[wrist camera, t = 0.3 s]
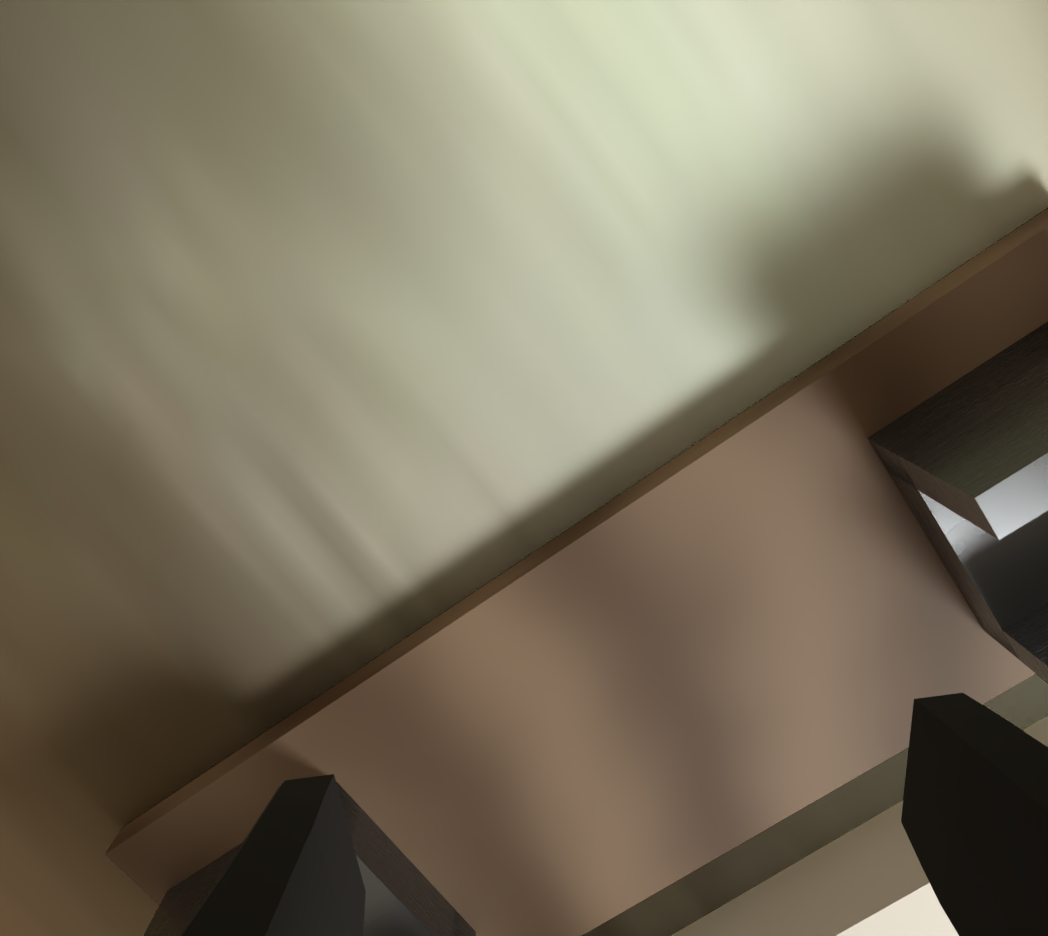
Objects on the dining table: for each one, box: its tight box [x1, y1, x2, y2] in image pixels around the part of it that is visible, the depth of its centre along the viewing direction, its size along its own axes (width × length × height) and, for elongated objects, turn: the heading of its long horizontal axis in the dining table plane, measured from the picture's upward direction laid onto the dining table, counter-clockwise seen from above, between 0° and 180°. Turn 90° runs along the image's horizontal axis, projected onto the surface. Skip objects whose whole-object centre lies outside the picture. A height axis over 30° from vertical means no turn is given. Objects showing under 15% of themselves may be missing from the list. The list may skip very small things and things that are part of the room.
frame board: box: [106, 208, 1048, 936], centre depth 21 cm, size 29×10×1 cm, turn 126°
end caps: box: [144, 321, 1048, 936], centre depth 18 cm, size 28×6×4 cm, turn 126°
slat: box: [671, 716, 1048, 936], centre depth 23 cm, size 24×3×3 cm, turn 126°
